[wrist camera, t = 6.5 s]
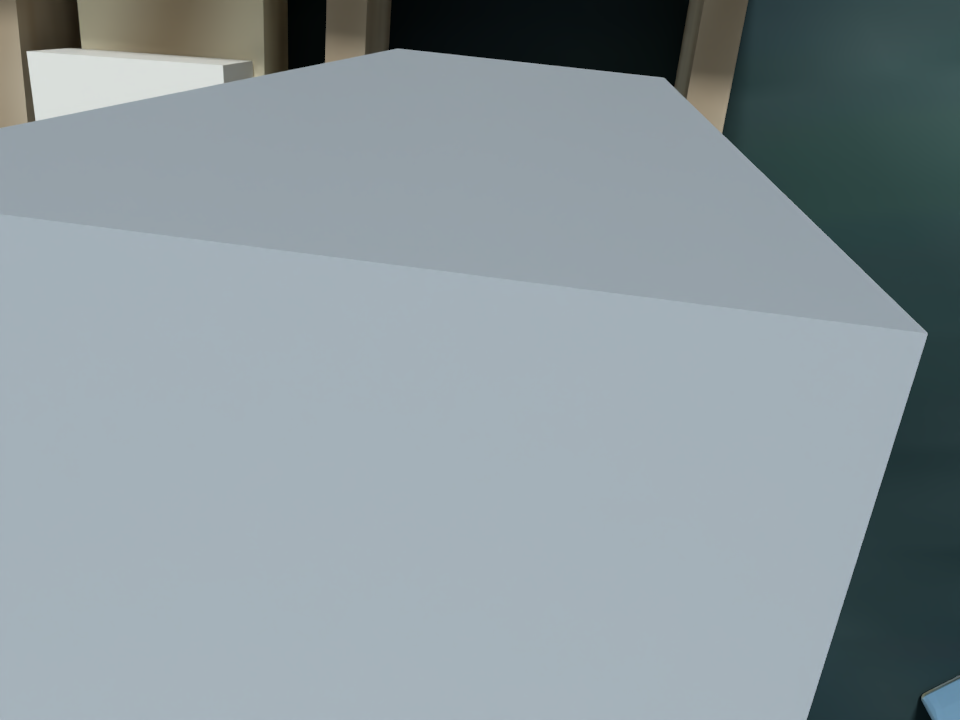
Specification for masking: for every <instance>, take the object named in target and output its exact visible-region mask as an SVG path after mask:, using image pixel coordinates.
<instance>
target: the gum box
mask: <svg viewBox="0 0 960 720" xmlns="http://www.w3.org/2000/svg"><path fill="white" fill-rule="evenodd" d="M921 701H922V702H923V704H924V706H925V708H926V710H927V712H928V714H929V716H930V718H931V719H932V720H960V675H959V676H957V677H955V678H953V679H951V680H949V681H947V682H945V683H943V684H941V685H939V686H937V687H935V688H933V689H931V690H929V691H927V692H926V693H924V694H923V695H922V697H921Z"/></svg>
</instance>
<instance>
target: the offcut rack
mask: <svg viewBox="0 0 960 720" xmlns="http://www.w3.org/2000/svg"><path fill="white" fill-rule="evenodd" d="M391 1H392V0H327V10H326V45H325V63H328V62H333V61H338V60H343V59H348V58H353V57H358V56H362V55H367V54H372V53H377V52H382V51H387V50H389V38H390V19H391ZM747 4H748V0H689V5H688V11H687V17H686V22H685V28H684V34H683V40H682V45H681V51H680V57H679V63H678V68H677V74H676V80H675V86H674V88H675V89H676V90H677V91H678V92H679V93H680V94H681V95H682V96H683V97H685V98H686V99H687V100H688V101H689V102H690V103H691V104H692V105H693V106H694V107H695V108H696V109H697V110H698V111H699V112H700V113H701V114H702V115H703V116H704V117H705V118H706V119H707V120H708V121H709V122H710V123H711V124H712V125H713V126H714V127H715V128H716V129H718V130H719V131H720V132H721V133H722V131H723V125H724V120H725V115H726V110H727V105H728V100H729V95H730V90H731V85H732V80H733V75H734V70H735V65H736V60H737V55H738V50H739V44H740V39H741V34H742V29H743V24H744V19H745V14H746V9H747ZM63 48H80V49H82V47H81V36H80V26H79V15H78V4H77V0H0V128H3V127H8V126H13V125H18V124H23V123H28V122H33V121H36V120H35V112H34V105H33V97H32V89H31V82H30V74H29V67H28V59H27V52H26V51H37V50H50V49H63Z"/></svg>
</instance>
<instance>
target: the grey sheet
mask: <svg viewBox="0 0 960 720" xmlns="http://www.w3.org/2000/svg"><path fill="white" fill-rule="evenodd" d="M927 335H928V333H927V332H926V331H925V330H924V329H923V328H922V327H921V326H920V325H919V324H918V323H917V322H915V321H914V320H913V319H912V318H911V317H910V316H909V315H908V314H907V313H906V312H905V311H904V310H903V309H902V308H901V307H900V306H899V305H898V304H897V303H896V302H895V301H894V300H893V299H892V298H891V297H890V296H889V295H888V294H887V293H886V292H885V291H884V290H883V289H881V288H880V287H879V286H878V285H877V284H876V283H875V282H874V281H873V280H872V279H871V278H870V277H869V276H868V275H867V274H866V273H865V272H864V271H863V270H862V269H861V268H860V267H859V266H858V265H857V264H856V263H855V262H854V261H853V260H852V259H851V258H850V257H848V256H847V255H846V254H845V253H844V252H843V251H842V250H841V249H840V248H839V247H838V246H837V245H836V244H835V243H834V242H833V241H832V240H831V239H830V238H829V237H828V236H827V235H826V234H825V233H824V232H823V231H822V230H821V229H820V228H819V227H818V226H817V225H815V224H814V223H813V222H812V221H811V220H810V219H809V218H808V217H807V216H806V215H805V214H804V213H803V212H802V211H801V210H800V209H799V208H798V207H797V206H796V205H795V204H794V203H793V202H792V201H791V200H790V199H789V198H788V197H787V196H786V195H785V194H784V193H782V192H781V191H780V190H779V189H778V188H777V187H776V186H775V185H774V184H773V183H772V182H771V181H770V180H769V179H768V178H767V177H766V176H765V175H764V174H763V173H762V172H761V171H760V170H759V169H758V168H757V167H756V166H755V165H754V164H753V163H752V162H751V161H749V160H748V159H747V158H746V157H745V156H744V155H743V154H742V153H741V152H740V151H739V150H738V149H737V148H736V147H735V146H734V145H733V144H732V143H731V142H730V141H729V140H728V139H727V138H726V137H725V136H724V135H723V134H722V133H721V132H720V131H719V130H718V129H716V128H715V127H714V126H713V125H712V124H711V123H710V122H709V121H708V120H707V119H706V118H705V117H704V116H703V115H702V114H701V113H700V112H699V111H698V110H697V109H696V108H695V107H694V106H693V105H692V104H691V103H690V102H689V101H688V100H687V99H686V98H685V97H683V96H682V95H681V94H680V93H679V92H678V91H677V90H676V89H675V88H674V87H673V86H672V85H671V84H670V83H669V82H668V81H667V80H666V79H665V78H662V77H653V76H644V75H635V74H626V73H617V72H608V71H599V70H590V69H580V68H571V67H562V66H553V65H544V64H535V63H526V62H517V61H508V60H499V59H489V58H480V57H471V56H462V55H453V54H444V53H435V52H426V51H417V50H407V49H398V48H397V49H392V50H387V51H382V52H377V53H372V54H367V55H362V56H358V57H353V58H348V59H343V60H338V61H333V62H328V63H323V64H318V65H313V66H308V67H303V68H298V69H293V70H288V71H283V72H278V73H273V74H268V75H263V76H258V77H253V78H248V79H243V80H238V81H233V82H228V83H223V84H218V85H213V86H208V87H203V88H198V89H193V90H188V91H183V92H178V93H173V94H168V95H163V96H158V97H153V98H148V99H143V100H138V101H133V102H128V103H123V104H118V105H113V106H108V107H103V108H98V109H93V110H88V111H83V112H78V113H73V114H68V115H63V116H58V117H53V118H48V119H43V120H38V121H33V122H28V123H23V124H18V125H13V126H8V127H3V128H0V720H807V716H808V713H809V710H810V707H811V704H812V701H813V697H814V694H815V691H816V688H817V685H818V681H819V678H820V675H821V672H822V669H823V666H824V662H825V659H826V656H827V653H828V650H829V646H830V643H831V640H832V637H833V634H834V631H835V627H836V624H837V621H838V618H839V615H840V611H841V608H842V605H843V602H844V599H845V596H846V592H847V589H848V586H849V583H850V580H851V577H852V573H853V570H854V567H855V564H856V561H857V557H858V554H859V551H860V548H861V545H862V542H863V538H864V535H865V532H866V529H867V526H868V522H869V519H870V516H871V513H872V510H873V507H874V503H875V500H876V497H877V494H878V491H879V487H880V484H881V481H882V478H883V475H884V472H885V468H886V465H887V462H888V459H889V456H890V452H891V449H892V446H893V443H894V440H895V437H896V433H897V430H898V427H899V424H900V421H901V417H902V414H903V411H904V408H905V405H906V402H907V398H908V395H909V392H910V389H911V386H912V382H913V379H914V376H915V373H916V370H917V367H918V363H919V360H920V357H921V354H922V351H923V347H924V344H925V341H926V338H927Z"/></svg>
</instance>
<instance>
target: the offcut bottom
mask: <svg viewBox="0 0 960 720" xmlns="http://www.w3.org/2000/svg"><path fill="white" fill-rule="evenodd" d="M77 4H78V15H79V26H80V36H81V47H82V49H94V50H108V51H122V52H136V53H150V54H164V55H178V56H192V57H206V58H221V59H235V60H249V61H252V62H253V77H258V76H263V75H268V74H273V73H278V72H283V71H288V0H77Z"/></svg>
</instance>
